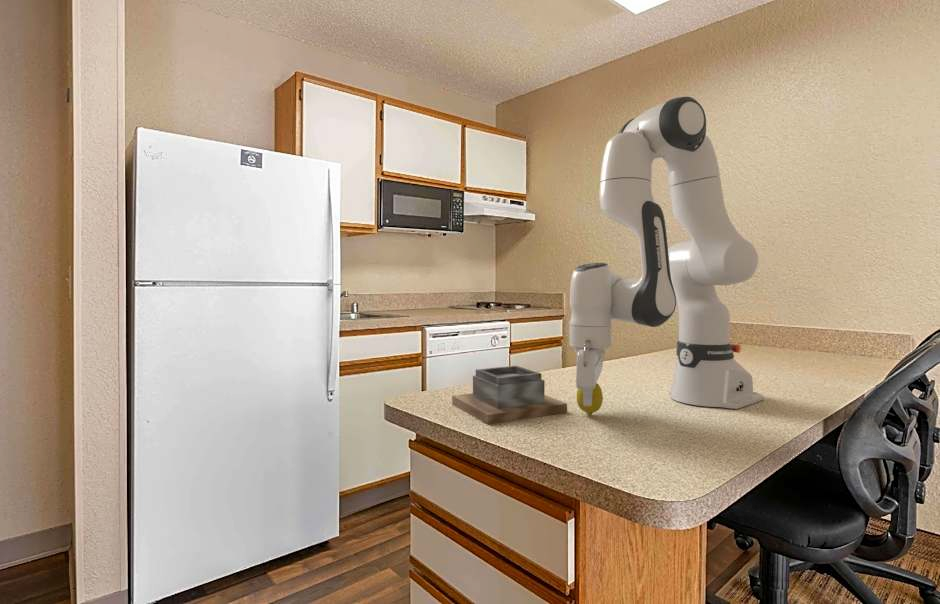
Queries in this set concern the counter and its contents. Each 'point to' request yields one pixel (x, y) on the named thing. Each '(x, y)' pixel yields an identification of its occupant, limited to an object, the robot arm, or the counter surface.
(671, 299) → the robot arm
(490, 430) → the counter surface
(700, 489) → the counter surface
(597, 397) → the lemon
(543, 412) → the plinth
